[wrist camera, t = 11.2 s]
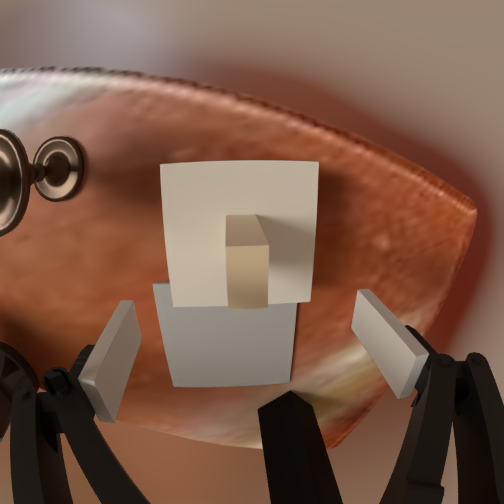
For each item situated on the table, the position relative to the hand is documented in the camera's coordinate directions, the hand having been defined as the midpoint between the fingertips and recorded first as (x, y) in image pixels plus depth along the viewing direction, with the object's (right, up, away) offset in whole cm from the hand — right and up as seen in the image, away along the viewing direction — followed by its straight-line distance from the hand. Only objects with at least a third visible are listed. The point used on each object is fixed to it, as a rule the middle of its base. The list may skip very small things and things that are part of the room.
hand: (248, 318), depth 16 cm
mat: (-3, -10, +26) cm, 28 cm away
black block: (+7, -26, +33) cm, 43 cm away
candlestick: (-26, +15, +16) cm, 34 cm away
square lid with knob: (-1, +5, +15) cm, 16 cm away
